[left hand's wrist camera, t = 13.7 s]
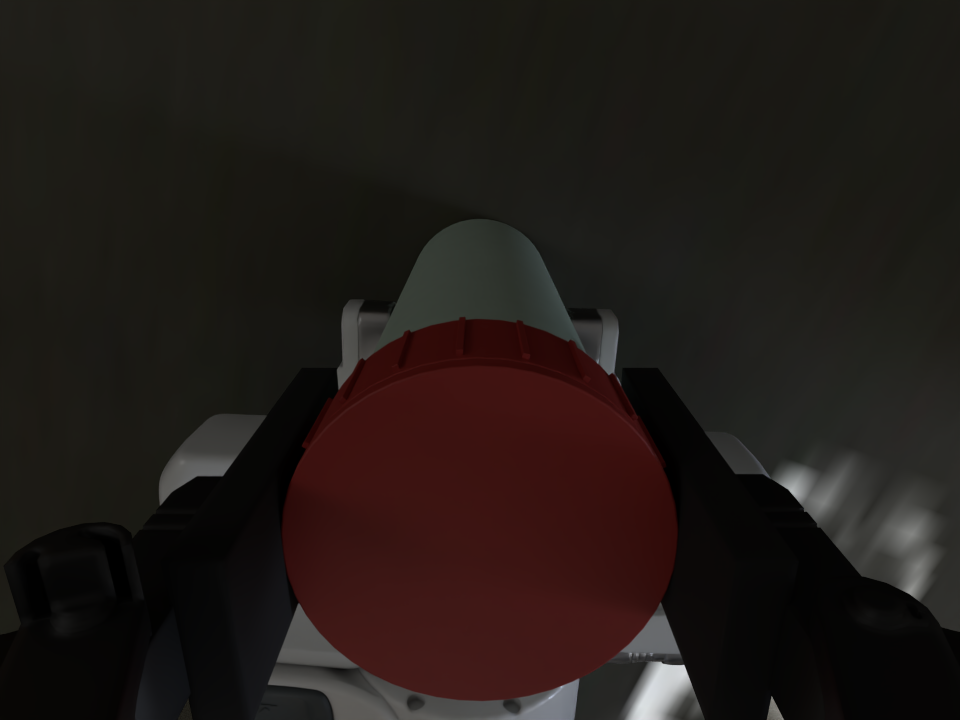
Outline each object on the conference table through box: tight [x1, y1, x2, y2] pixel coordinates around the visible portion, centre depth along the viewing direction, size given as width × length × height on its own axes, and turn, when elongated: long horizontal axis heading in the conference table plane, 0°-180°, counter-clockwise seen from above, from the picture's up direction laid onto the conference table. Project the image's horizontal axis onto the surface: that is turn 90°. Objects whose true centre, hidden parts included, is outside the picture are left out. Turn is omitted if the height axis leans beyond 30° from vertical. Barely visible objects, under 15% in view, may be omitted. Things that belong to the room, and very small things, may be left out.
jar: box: [373, 219, 586, 354], centre depth 18 cm, size 6×6×17 cm
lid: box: [281, 317, 678, 701], centre depth 11 cm, size 6×6×2 cm
